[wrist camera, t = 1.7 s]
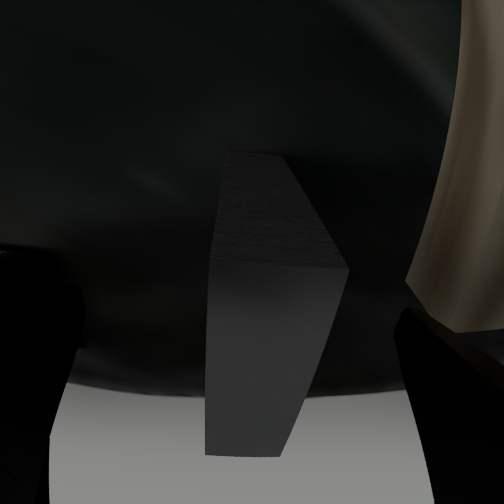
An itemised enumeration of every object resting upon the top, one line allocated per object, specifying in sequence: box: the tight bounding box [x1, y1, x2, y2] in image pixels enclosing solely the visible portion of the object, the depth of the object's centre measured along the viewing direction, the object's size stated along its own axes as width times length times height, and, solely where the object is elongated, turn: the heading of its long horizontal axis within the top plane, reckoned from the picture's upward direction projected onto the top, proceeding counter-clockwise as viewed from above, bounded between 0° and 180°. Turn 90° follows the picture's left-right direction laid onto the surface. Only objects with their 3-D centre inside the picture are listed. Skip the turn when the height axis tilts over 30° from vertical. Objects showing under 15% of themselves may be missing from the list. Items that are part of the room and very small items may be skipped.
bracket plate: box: [205, 151, 349, 457], centre depth 9 cm, size 2×6×8 cm, turn 173°
